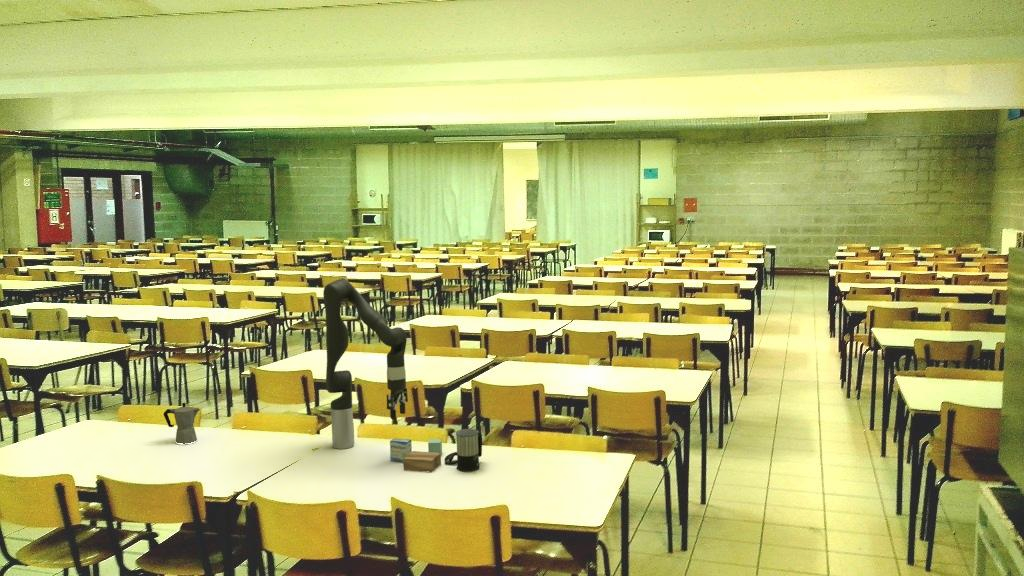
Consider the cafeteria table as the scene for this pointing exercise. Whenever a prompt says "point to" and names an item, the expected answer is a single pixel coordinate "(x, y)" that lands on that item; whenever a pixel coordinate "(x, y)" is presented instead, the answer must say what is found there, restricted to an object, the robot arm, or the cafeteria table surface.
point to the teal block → (435, 445)
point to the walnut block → (422, 461)
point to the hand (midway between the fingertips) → (398, 416)
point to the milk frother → (467, 450)
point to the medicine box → (400, 449)
